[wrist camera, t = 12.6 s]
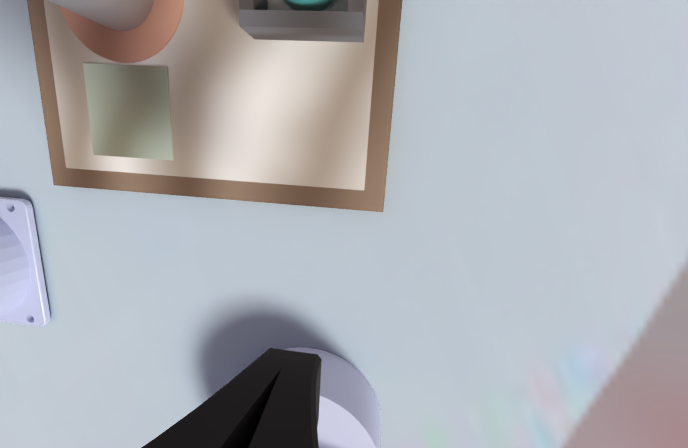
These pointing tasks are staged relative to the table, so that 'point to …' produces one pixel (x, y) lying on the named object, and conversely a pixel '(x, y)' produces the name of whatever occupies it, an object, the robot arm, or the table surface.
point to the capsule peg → (110, 11)
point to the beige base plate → (223, 100)
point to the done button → (308, 4)
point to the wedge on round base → (345, 405)
